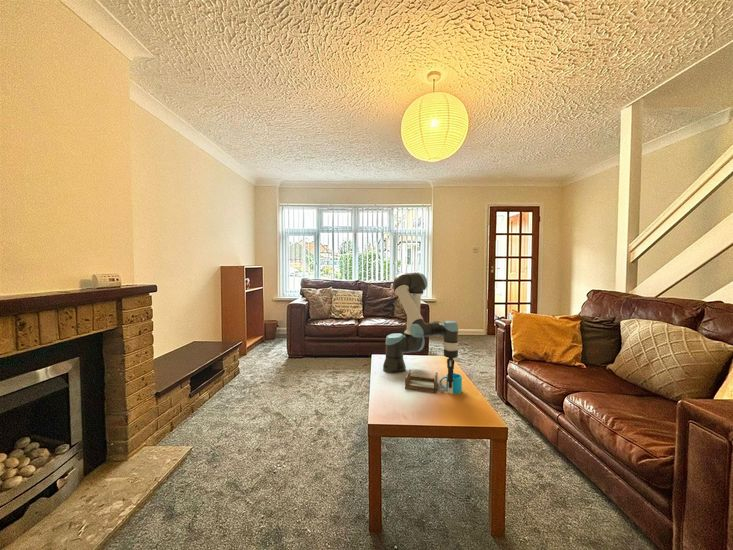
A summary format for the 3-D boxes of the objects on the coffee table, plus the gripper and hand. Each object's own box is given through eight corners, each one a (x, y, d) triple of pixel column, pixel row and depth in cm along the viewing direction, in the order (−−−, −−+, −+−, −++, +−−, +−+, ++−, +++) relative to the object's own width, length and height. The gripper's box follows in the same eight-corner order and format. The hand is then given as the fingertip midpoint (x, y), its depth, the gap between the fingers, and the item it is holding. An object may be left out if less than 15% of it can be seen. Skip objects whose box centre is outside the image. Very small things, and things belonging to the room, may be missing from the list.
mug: (460, 388, 168) (460, 373, 168) (463, 393, 160) (463, 378, 160) (438, 386, 169) (438, 372, 169) (440, 392, 161) (440, 377, 161)
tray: (409, 379, 181) (409, 369, 180) (437, 382, 176) (437, 372, 175) (405, 388, 166) (405, 378, 166) (435, 392, 161) (435, 381, 161)
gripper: (444, 344, 176) (444, 382, 176) (442, 353, 155) (442, 396, 155) (458, 345, 173) (457, 383, 174) (457, 355, 153) (457, 398, 153)
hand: (450, 389), depth 165 cm, fingers open, 9 cm apart
